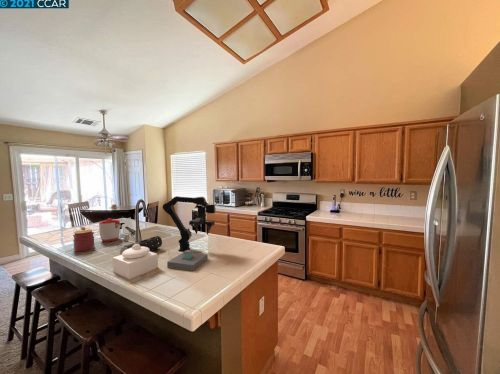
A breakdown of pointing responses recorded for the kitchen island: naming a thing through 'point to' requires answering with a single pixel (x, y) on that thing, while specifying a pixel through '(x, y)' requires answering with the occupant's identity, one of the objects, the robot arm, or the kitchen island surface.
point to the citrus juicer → (109, 230)
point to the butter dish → (135, 262)
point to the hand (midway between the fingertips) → (202, 234)
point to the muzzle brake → (145, 244)
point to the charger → (188, 254)
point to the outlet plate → (187, 261)
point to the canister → (83, 240)
